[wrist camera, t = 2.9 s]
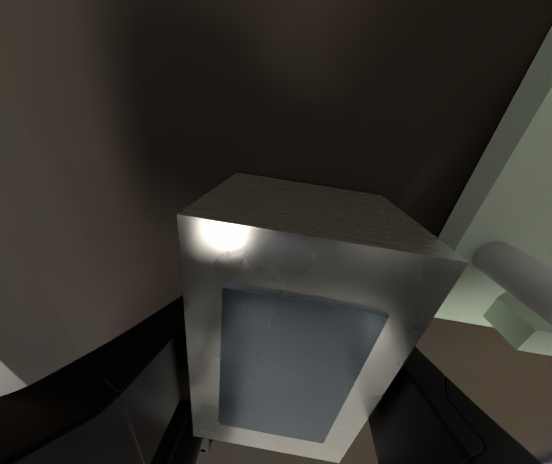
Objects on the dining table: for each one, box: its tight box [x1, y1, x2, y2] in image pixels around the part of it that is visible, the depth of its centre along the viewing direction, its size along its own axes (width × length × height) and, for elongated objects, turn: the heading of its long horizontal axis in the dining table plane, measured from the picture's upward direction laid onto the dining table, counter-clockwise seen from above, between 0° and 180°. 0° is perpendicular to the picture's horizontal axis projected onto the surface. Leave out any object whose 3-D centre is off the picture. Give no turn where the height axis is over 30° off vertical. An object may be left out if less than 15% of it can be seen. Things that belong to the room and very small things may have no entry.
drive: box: [177, 172, 469, 463], centre depth 8 cm, size 9×6×5 cm, turn 172°
